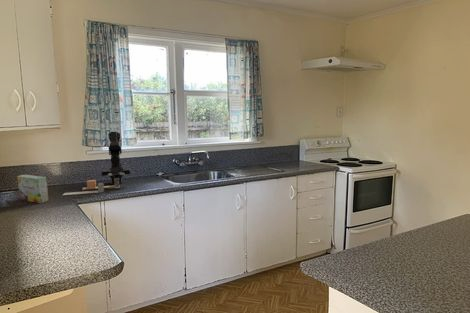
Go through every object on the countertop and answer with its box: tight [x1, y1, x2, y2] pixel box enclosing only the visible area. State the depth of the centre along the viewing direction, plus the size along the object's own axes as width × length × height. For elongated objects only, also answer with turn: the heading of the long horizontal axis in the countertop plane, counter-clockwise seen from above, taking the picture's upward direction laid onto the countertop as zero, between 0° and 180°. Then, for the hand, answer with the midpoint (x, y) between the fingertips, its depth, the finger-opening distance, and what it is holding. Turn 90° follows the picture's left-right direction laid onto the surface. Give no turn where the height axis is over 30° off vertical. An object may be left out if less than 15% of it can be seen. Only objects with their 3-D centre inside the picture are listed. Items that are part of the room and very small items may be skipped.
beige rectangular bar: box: [81, 178, 121, 191], centre depth 228 cm, size 24×6×6 cm, turn 105°
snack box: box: [16, 174, 50, 204], centre depth 199 cm, size 21×6×15 cm, turn 62°
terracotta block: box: [86, 179, 97, 190], centre depth 227 cm, size 5×5×5 cm
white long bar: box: [62, 182, 105, 196], centre depth 214 cm, size 24×6×6 cm, turn 105°
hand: (117, 184), depth 231 cm, fingers closed on beige rectangular bar, 3 cm apart
